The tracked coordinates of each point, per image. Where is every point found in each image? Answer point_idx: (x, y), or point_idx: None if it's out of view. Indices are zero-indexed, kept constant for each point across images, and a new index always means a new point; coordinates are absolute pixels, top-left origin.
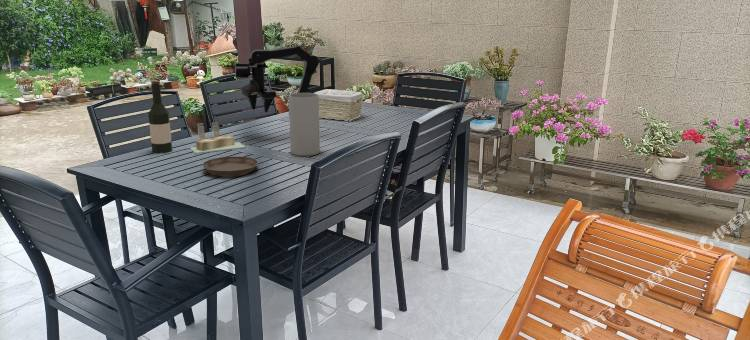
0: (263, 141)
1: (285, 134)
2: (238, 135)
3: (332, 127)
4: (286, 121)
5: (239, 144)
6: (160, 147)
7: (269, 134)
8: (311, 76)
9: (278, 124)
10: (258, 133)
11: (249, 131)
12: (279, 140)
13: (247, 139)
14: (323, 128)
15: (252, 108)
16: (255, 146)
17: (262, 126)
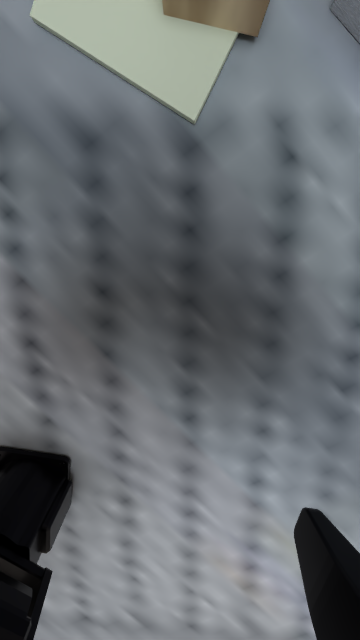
0: (89, 269)
1: (116, 461)
2: (350, 301)
3: (48, 635)
4: (303, 636)
5: (131, 48)
6: None
7: (191, 420)
8: None
9: (300, 587)
10: (265, 406)
11: (349, 416)
12: (33, 343)
13: (218, 249)
14: (63, 612)
15: (324, 526)
16: (19, 117)
17: (352, 528)
